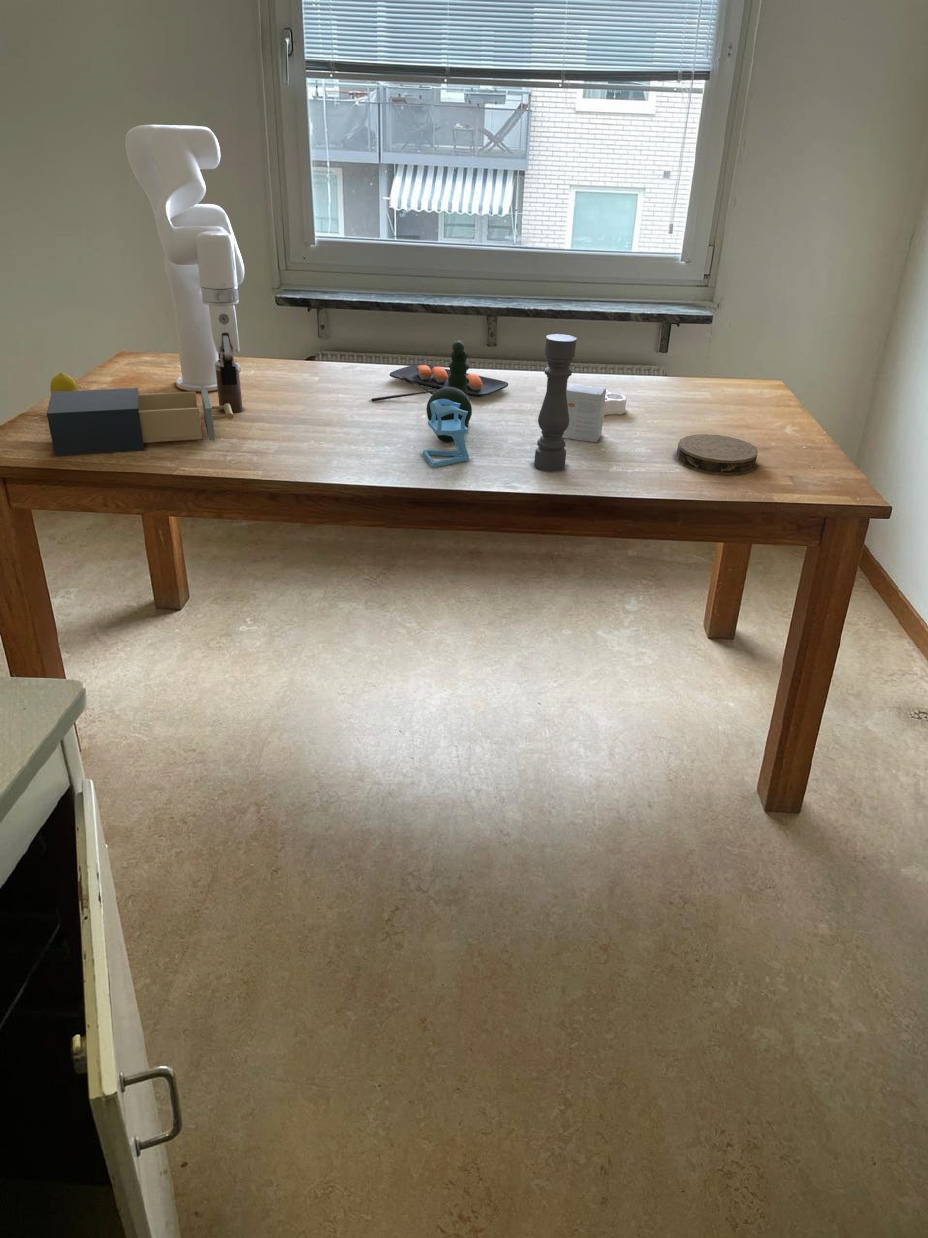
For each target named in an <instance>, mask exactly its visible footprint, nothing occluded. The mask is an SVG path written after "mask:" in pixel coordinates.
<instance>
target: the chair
mask: <svg viewBox="0 0 928 1238" xmlns="http://www.w3.org/2000/svg"><path fill="white" fill-rule="evenodd" d="M441 405H450V406H441ZM459 407H460V403H455V402H452V401H450V400H447V399H439V400H435V401H433V402H431V403H430V409H431V413H432V418H431V421H429V420H427V426H428V427H429V428H430V429H431V430H432V431H433V433H434V435H435V436H437V435H447V436H452V438H453V440H454V442H453V443H454V445H455V447H456V450H447V449H445V450H443V449H423V450H422V455H423V457H424V459H425V460H426V461H427V462H428V464H429V465H430V466H431V468H437V467H439V468H440V467H444V466H448V465H452V464H456V463H462V462H463V463H464V462H468V461H469V460H470V459H469V454H468V453H469V452H468V449H467V445H466V440H465V437H466V435H467V434H469V427H468V428H467V427H466V426H465V418H466V416H467V413H468V411H463V410H461V409H459ZM435 412H436V414H437V418H438V420H436V415H435ZM450 413H454V419H452V420H442V421H441V417H443V416H445V415H447V414H450ZM458 414H460V415H462V416H463V417H462V419H461V421H460V420H459V419H458ZM431 456H441V457H449V458H445V459H441V460H436V461H435V460H433V458H432V457H431Z"/></svg>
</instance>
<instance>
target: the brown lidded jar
mask: <svg viewBox="0 0 928 1238" xmlns="http://www.w3.org/2000/svg"><path fill="white" fill-rule="evenodd" d="M234 365H235V367H236V378H237V384H236V385H222V381H221V371H220V366H221V361H218V362H216V363H215V369H216V379H217V389H218V390H217V398H218V406H224V404H226V403H228V404H230V406H231V409H232V412H233V414H237V413H241V412H242V411H243V399H242V389H241V375H240V372H239V366H240V364H239V362H238V361H237V360H234ZM219 412H220V413H222V414H223V413H224V414H226V413H225V410H224V409H219Z"/></svg>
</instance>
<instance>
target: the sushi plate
mask: <svg viewBox="0 0 928 1238" xmlns="http://www.w3.org/2000/svg"><path fill="white" fill-rule="evenodd" d="M450 374H451V372H450V368H444V367H442V366H433V365H430V364H423V363H421V364H420V363H416V364H410V365H408V366H405V367H401V368H398V369H396V370H393V371H391V372H390V373H389V376H390V377H391V378H393V379H397V380H401V381H404V382H405V383H408V384H412V385H416V386H417V387H419V388H421V389H422V390H424V391H418V392H410V393H401V394H394V395H393V394H392V395H387V396H379V397H373V398H370V399H371V400H370V401H372V402H378V401H385V400H391V399H396V398H397V399H398V398H403V397H404V398H405V397H411V396H415V395H423V394H431V396H432V395H433V393H435V392H436V391H437V390H439V389H441V388H444V387H449V383H448V378H449V375H450ZM465 375H466V377H467V378H468V379H469V383H468V384H467V385H466V389H467V395H468V396H467V397H470V398H482V397H485V396H489V395H492V394H494V393H498V392H499V391H501V390H504V389H505V388H507V387H508V386H509V383H508V382H507V381H505V380H500V379H496V378H491V377H487V376H482V375H478V374H475V373H468V372H466V373H465ZM427 388H429V389H427ZM430 389H432V390H430Z"/></svg>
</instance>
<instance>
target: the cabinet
mask: <svg viewBox="0 0 928 1238" xmlns="http://www.w3.org/2000/svg"><path fill="white" fill-rule="evenodd" d="M138 394H140V393H139V388H138V387H128V388H127V387H126V388H107V389H106V388H104V389H84V390H78V391H60V392H52V393H51V392H50V398H49V402H48V406H47V410H46V419H47V423H48V428H49V434H50V439H51V443H52V447H53V452H54V456H55V457H60V456H61V457H63V456H77V455H91V454H105V453H106V454H107V453H120V452H136V451H137V452H138V451H145V443H143V436H142V429H141V422H140V415H139V402H138Z"/></svg>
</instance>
